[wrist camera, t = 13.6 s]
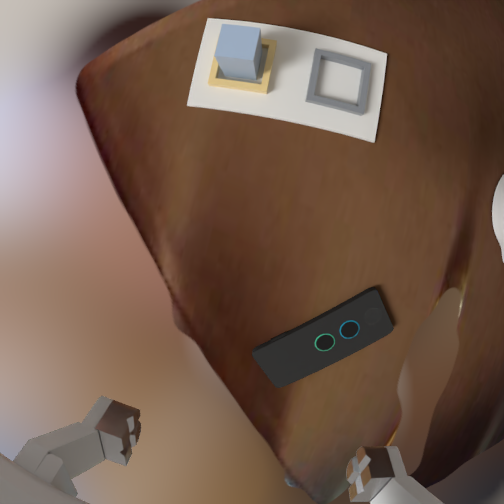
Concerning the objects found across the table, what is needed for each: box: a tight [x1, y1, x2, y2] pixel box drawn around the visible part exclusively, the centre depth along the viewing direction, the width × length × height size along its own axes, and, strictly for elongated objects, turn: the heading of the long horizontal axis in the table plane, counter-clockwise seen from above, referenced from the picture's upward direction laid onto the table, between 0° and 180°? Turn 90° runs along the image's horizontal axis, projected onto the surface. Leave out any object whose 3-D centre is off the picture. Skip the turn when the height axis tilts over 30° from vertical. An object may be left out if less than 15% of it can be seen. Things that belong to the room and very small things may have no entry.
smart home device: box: [252, 287, 394, 388], centre depth 44 cm, size 8×2×20 cm
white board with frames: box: [187, 18, 387, 143], centre depth 34 cm, size 24×13×2 cm, turn 80°
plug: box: [214, 24, 262, 81], centre depth 30 cm, size 4×5×8 cm
